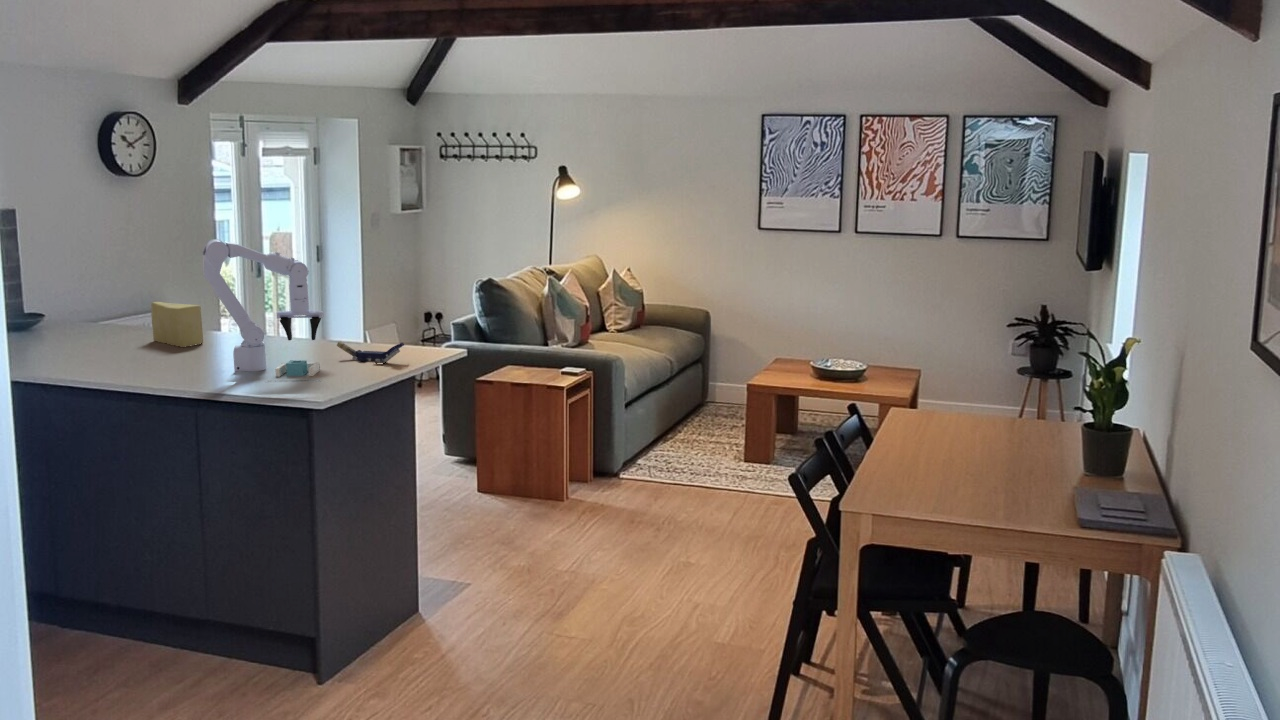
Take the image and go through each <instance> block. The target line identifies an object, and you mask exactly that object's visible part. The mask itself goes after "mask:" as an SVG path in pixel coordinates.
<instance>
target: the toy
mask: <svg viewBox="0 0 1280 720" xmlns="http://www.w3.org/2000/svg"><path fill="white" fill-rule="evenodd" d="M336 346H337V347H338V348H339V349H341V350H342V351H343V352H346V353H347V354H348V355H350V356H352V358H351V360H353V361H357V362H358V361H359V362H374V363H385V362H387V363H388V362H389V361H390V360H391V359H392V358H394V357H395V356H396V355H397V354H399V353H400V352H401V350H400V348H402V347H404V346H405V344H404V342H400V343H398V344H396V345H394V346H392V347H390V348H389V349H388V350H387V351H381V350H378V351H377V350H363V351H362V350H361V349H357V350H355V349H353V348H352V347H350V346H348V345H347V344H345V343H344V342H342V341H341V340H340V341H338V342H337V344H336ZM385 364H386V363H385Z"/></svg>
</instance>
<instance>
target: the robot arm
mask: <svg viewBox="0 0 1280 720" xmlns="http://www.w3.org/2000/svg"><path fill="white" fill-rule="evenodd" d="M238 257H240V258H243V259H245V260H246V259H247V260H250V261H253V262H256V263H259V264H262V265H263V266H264V268H265V270H268V271H270V272H273V273H277V274H280V275H283V276H289V277H288V278H289V288H288V289H289V303H290V305H289V306H290V311H288V310H287V311H285V310H284V311H277V312H276V319H279V322H280V325H281V326H282V328H283V330H284V332H285V334H286V336H287V340H288V341H292V339H293V334H292V319H299V318H300V319H305V318H306V319H309V323H310V331H311V333H310V334H311V341H315V340H316V337H317V331H318V328H319V325H320V323H321V320H322V318H324V311H322V310H310V304H309V303H310V302H309V299H310V298H309V288H308V287H309V285H308V275H309V270H308V267H307V265H306V264H304V263H303V262H301V261H300V260H298V259H295V258H294V257H290V258H289V257H288V256H283V255H282V254H281V253H280V252H278V251H275V252H272V251H271V252H269V253H267V254H266V253H263V252H260V251H257V250H255V249H252V248H250V247H248V246H247V247H246V246H244V245H241V244H239V243H235V242H231V241H225V240H224V242H223V241H222V240H221V239H216V238H215V239H214V238H213V239H210V240H208V241H207V242H206V243H205V246H204V249H203V251H202V274H203V277H204V278H205V280H206V281H207V283H208V284H209V285H210V287H211V288H212V290H213V291H214V293H215V295H216V296H217V297H218V299H219V300H220V302H221V304H222V305H223V306H224V307H225V309H226V311H227V312H228V313H229V315H230V316H231V318H232V319H233V321H234V322H235V324H236V325H237V327H238V328H239V331H240V333H239V334H240V336H241V338H242V339H243V340H242V342H241V343H240V344H239V345H235V346H234V348H233V367H234V369H233V370H234V371H233V372H234V373H236V372H258V371H264V370H266V369H267V359H266V343H265V342H264V338H265V333H264V331H263V329H262V328H261V327H260V326H259V324H257V322H253V320H252V318H251V317H250V316H249V314H248V313H247V311H246V310H245V308H244V307H243V305H242V304H241V302H240V301H239V299H238V297H236V295H235V294H234V292H233V291H232V289H231V288H230V286H229V285H228V283H227V282H226V280H225V279H224V277H223V276H222V275H221V270H222V267H223V264H224V262H225V261H226V259H227V258H230V259H233V258H238Z"/></svg>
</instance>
